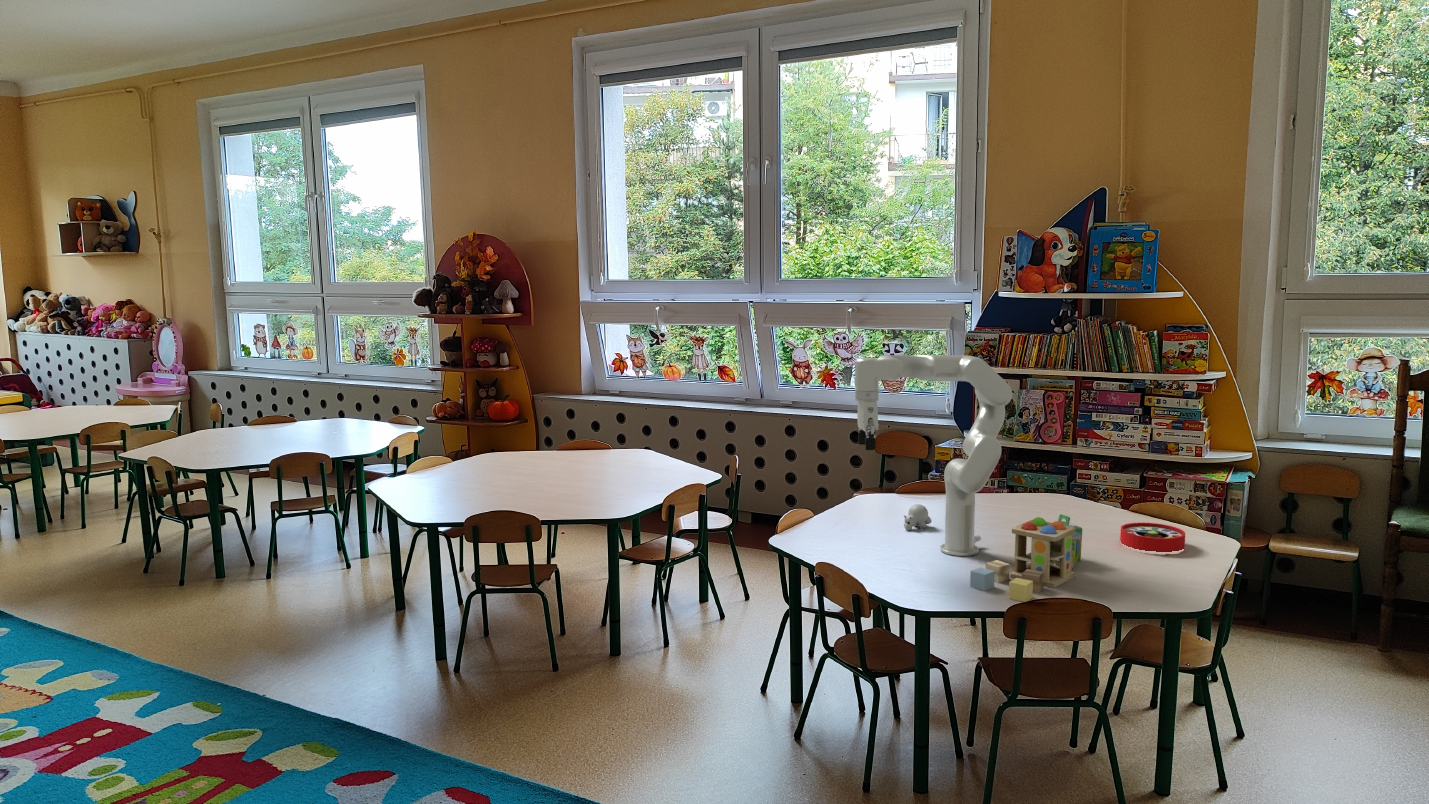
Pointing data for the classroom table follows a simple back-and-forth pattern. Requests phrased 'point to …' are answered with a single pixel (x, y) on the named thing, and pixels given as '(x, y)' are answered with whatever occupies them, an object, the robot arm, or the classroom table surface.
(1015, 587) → the mustard cube
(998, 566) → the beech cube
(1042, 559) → the pounding bench toy
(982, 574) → the slate-blue cube
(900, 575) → the classroom table surface
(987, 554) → the classroom table surface
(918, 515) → the chubby cartoon animal
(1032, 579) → the walnut cube
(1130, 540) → the toy clock
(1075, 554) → the chalk box
